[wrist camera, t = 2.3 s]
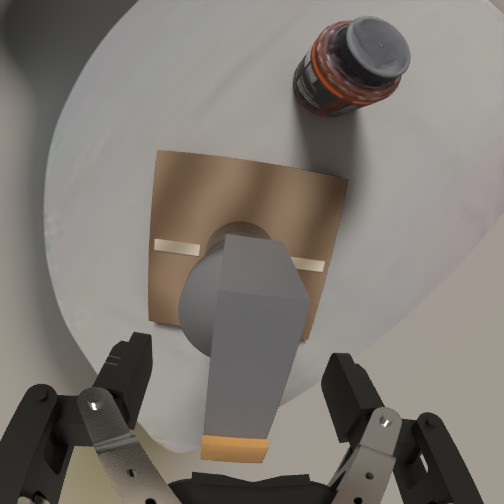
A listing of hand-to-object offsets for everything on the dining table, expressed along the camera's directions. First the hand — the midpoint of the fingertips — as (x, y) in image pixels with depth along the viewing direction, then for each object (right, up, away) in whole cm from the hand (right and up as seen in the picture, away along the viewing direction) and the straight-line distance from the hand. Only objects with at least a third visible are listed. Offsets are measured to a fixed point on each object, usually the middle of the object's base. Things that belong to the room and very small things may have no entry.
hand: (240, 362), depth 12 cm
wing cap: (0, +2, +6) cm, 6 cm away
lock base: (-1, +5, +14) cm, 15 cm away
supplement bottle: (+7, +19, +10) cm, 23 cm away
